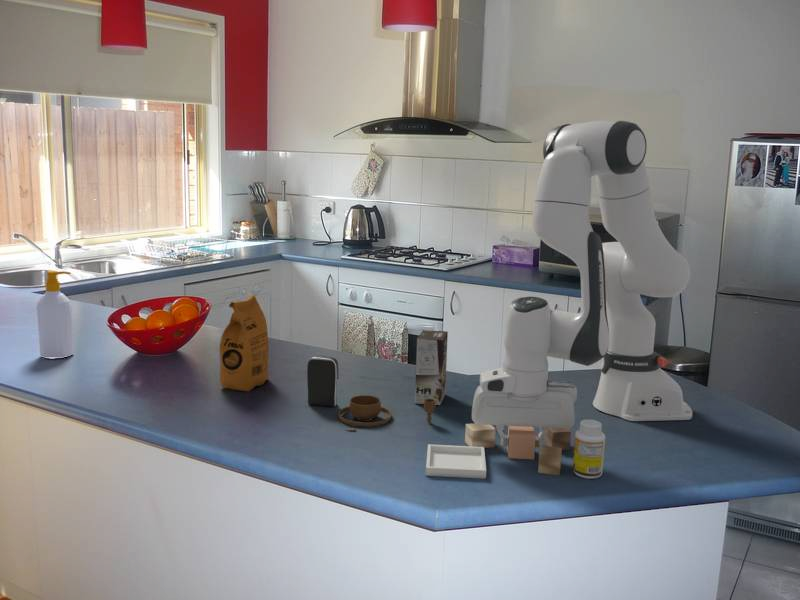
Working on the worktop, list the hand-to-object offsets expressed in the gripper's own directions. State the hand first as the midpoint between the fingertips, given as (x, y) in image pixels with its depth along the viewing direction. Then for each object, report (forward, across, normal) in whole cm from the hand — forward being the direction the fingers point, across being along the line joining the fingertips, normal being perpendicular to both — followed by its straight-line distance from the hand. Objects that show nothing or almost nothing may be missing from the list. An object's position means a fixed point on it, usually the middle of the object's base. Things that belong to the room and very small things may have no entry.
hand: (520, 445), depth 156 cm
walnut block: (+2, -8, -5) cm, 10 cm away
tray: (+2, +13, +7) cm, 15 cm away
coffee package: (+2, +66, -36) cm, 75 cm away
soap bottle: (+2, +123, -53) cm, 134 cm away
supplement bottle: (+2, -12, +8) cm, 15 cm away
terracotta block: (+2, 0, 0) cm, 2 cm away
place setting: (+3, +30, -14) cm, 33 cm away
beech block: (+2, +8, -4) cm, 9 cm away
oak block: (+2, -5, +7) cm, 9 cm away
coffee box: (+2, +19, -31) cm, 36 cm away
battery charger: (+2, +44, -24) cm, 50 cm away
